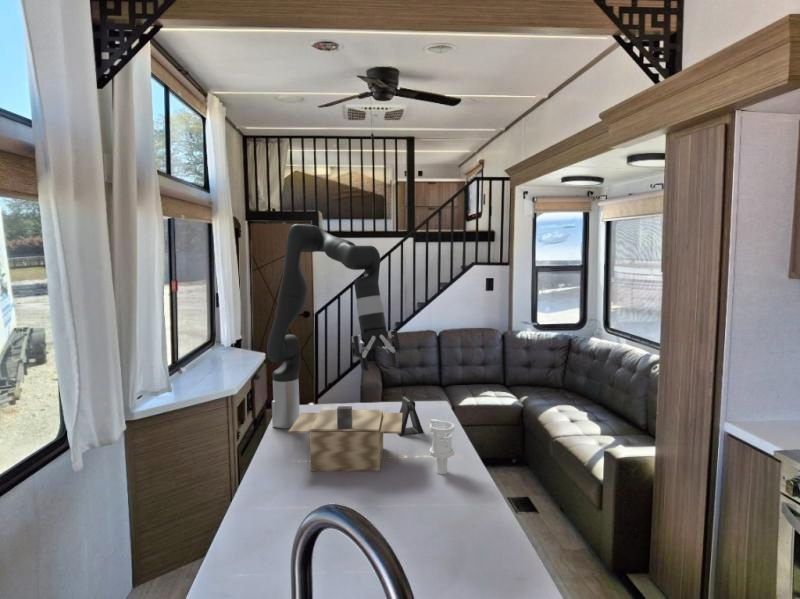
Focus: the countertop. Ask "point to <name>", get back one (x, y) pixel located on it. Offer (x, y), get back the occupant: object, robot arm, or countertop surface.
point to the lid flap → (347, 420)
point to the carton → (346, 444)
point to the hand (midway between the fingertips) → (379, 368)
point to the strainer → (441, 444)
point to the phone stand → (407, 409)
